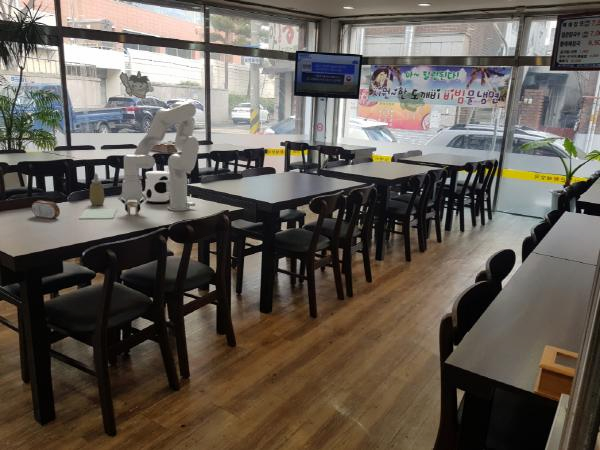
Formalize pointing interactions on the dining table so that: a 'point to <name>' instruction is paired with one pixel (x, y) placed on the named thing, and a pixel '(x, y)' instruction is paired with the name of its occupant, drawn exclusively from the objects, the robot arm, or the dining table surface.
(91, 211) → the mat
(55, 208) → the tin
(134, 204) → the stool
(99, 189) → the squeeze bottle
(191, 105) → the robot arm
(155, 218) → the dining table surface
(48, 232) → the dining table surface
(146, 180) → the milk container
